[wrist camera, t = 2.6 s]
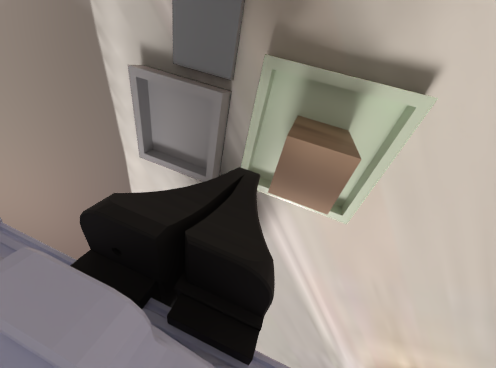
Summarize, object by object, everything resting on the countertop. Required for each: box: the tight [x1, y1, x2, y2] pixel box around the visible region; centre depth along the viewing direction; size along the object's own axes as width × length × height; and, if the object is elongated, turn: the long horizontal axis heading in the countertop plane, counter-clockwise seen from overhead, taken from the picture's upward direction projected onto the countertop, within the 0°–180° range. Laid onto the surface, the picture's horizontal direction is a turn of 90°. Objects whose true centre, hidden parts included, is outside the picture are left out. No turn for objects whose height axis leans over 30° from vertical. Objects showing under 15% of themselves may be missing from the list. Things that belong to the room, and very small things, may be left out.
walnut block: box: [268, 115, 362, 215], centre depth 15 cm, size 4×4×6 cm
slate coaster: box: [172, 0, 245, 80], centre depth 16 cm, size 6×6×1 cm
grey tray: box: [128, 65, 231, 182], centre depth 21 cm, size 10×10×2 cm
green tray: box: [241, 54, 438, 224], centre depth 17 cm, size 12×12×2 cm
